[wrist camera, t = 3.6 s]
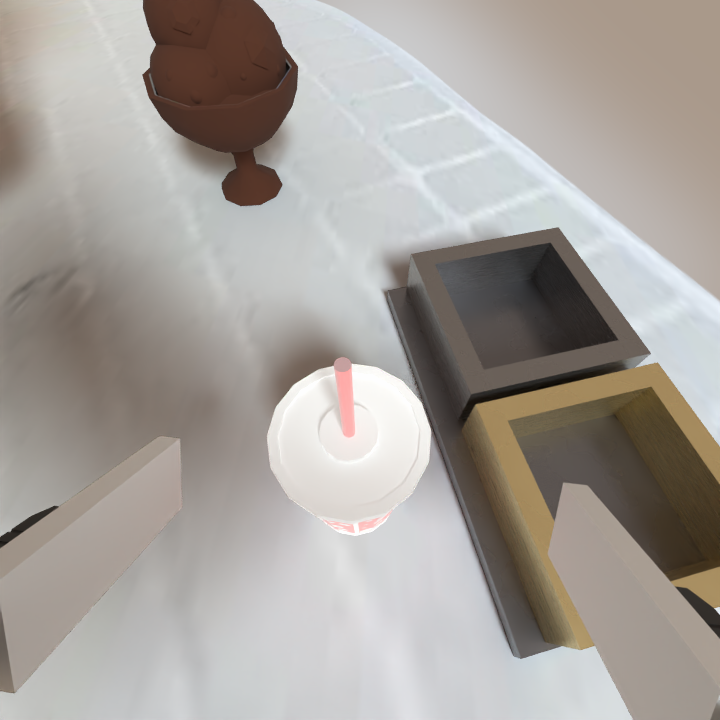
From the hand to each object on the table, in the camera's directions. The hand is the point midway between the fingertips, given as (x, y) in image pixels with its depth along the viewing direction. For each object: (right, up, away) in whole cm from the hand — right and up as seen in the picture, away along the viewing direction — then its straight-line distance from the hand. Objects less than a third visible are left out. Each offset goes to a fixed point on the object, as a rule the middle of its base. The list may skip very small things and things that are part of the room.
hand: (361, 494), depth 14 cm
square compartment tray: (+11, +1, +11) cm, 16 cm away
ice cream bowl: (-10, +21, +23) cm, 33 cm away
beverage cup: (0, -3, +9) cm, 9 cm away
